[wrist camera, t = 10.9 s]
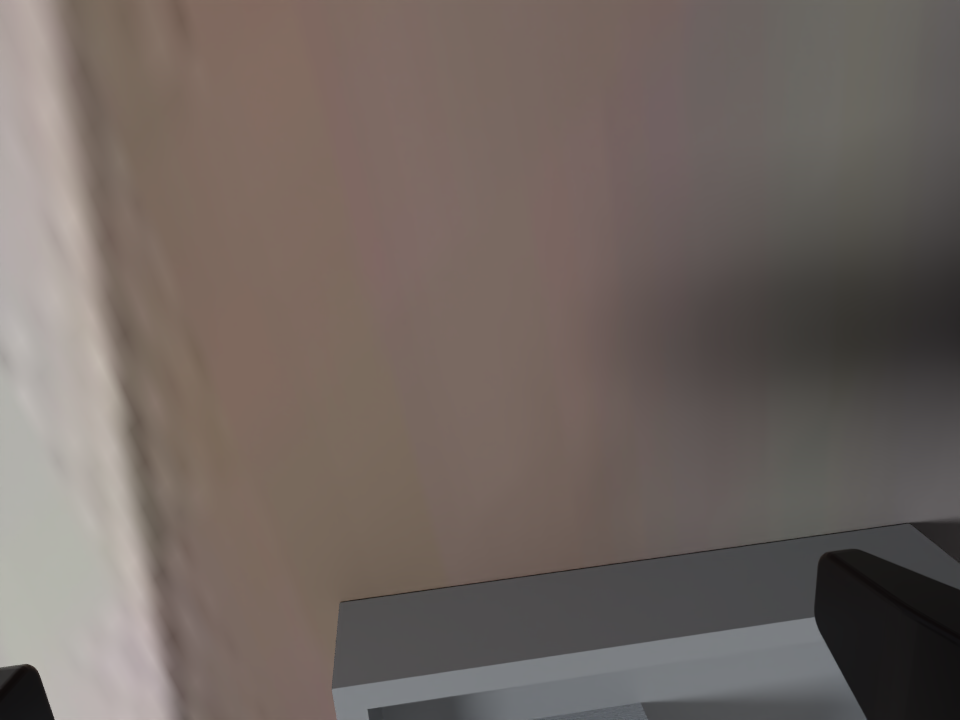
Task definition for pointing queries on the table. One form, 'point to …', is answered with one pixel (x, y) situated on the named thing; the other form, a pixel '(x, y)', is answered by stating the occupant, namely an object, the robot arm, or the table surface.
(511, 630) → the tray
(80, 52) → the table surface
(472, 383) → the table surface
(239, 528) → the table surface
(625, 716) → the steel block
